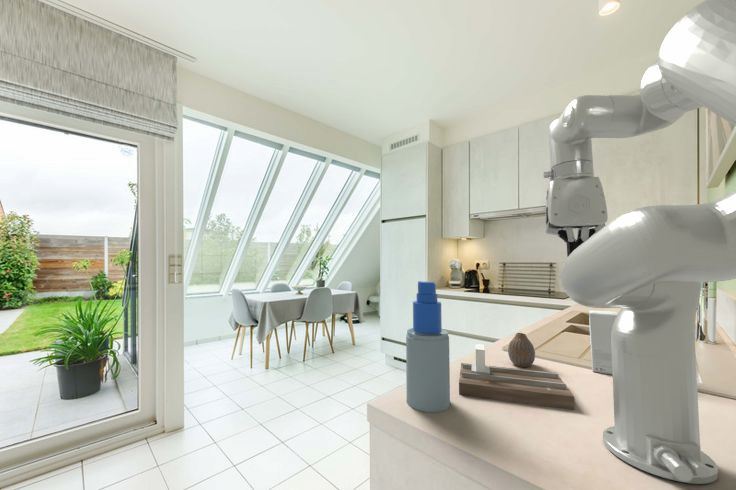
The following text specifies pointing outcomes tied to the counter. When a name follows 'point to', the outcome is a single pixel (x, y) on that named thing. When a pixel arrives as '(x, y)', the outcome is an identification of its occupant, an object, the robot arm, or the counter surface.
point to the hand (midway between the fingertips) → (577, 261)
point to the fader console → (516, 386)
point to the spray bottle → (427, 354)
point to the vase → (521, 351)
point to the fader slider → (480, 361)
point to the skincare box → (601, 340)
